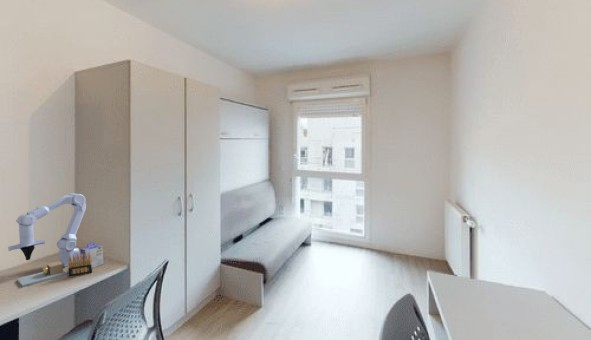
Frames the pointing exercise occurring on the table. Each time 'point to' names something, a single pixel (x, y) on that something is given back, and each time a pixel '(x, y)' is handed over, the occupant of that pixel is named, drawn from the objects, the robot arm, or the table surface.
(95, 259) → the ink cartridge box
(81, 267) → the ammunition clip
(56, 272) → the mounting board
